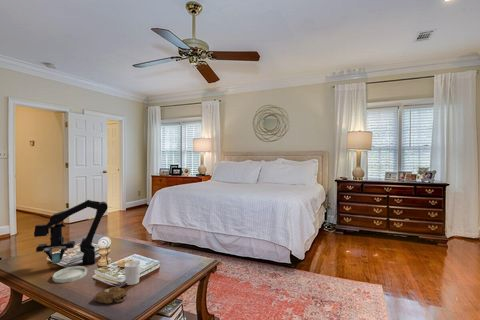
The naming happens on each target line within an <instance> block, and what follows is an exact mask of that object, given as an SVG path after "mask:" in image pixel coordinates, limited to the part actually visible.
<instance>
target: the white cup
mask: <svg viewBox="0 0 480 320" xmlns="http://www.w3.org/2000/svg"><path fill="white" fill-rule="evenodd" d="M140 274H141V262H140V261H138V260H131V261H127V262H126V263H125V264H124V278H125V283H126V282H127V284H126V285H127V286H133V285H136V284H138V283H139V282H140V276H141V275H140Z"/></svg>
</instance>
